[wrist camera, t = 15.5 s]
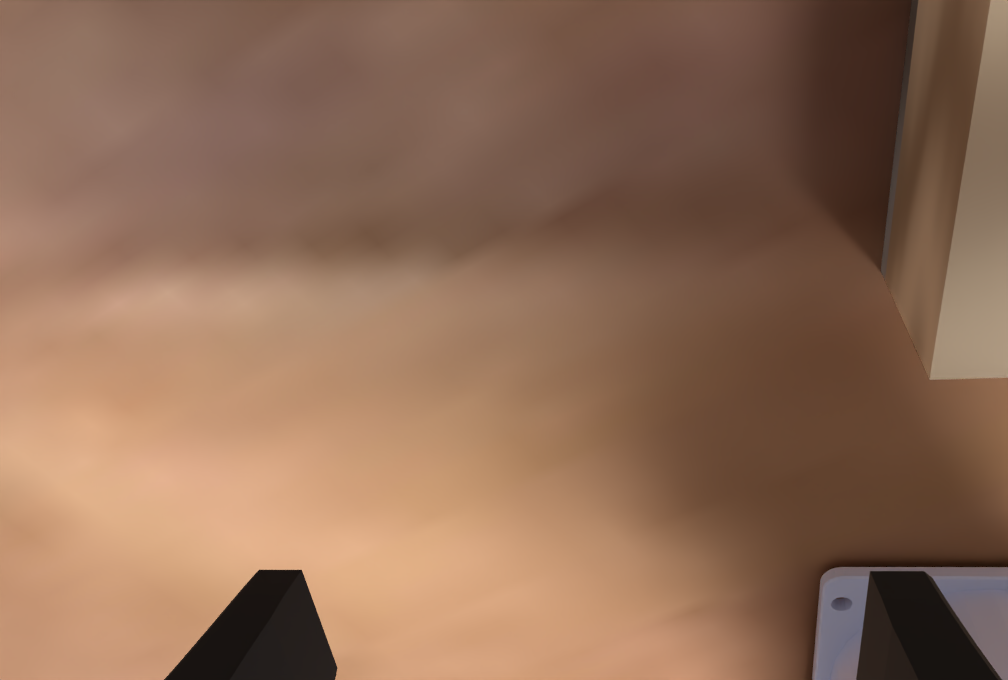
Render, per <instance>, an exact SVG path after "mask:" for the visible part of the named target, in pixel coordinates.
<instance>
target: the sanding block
mask: <svg viewBox="0 0 1008 680" xmlns="http://www.w3.org/2000/svg"><path fill="white" fill-rule="evenodd" d="M881 273H882V275H883V277H884V280H885V282H886V284H887V286H888V288H889V291H890V293H891V295H892V297H893V300H894V302H895V304H896V306H897V309H898V311H899V313H900V315H901V318H902V320H903V322H904V324H905V326H906V329H907V331H908V333H909V335H910V338H911V340H912V342H913V344H914V347H915V349H916V351H917V353H918V356H919V358H920V360H921V362H922V364H923V367H924V369H925V371H926V373H927V376H928V378H929V380H944V379H979V378H1008V0H912V2H911V11H910V20H909V29H908V37H907V46H906V55H905V63H904V72H903V81H902V90H901V98H900V107H899V116H898V124H897V133H896V142H895V151H894V159H893V168H892V177H891V186H890V194H889V203H888V212H887V220H886V229H885V238H884V247H883V255H882V264H881Z"/></svg>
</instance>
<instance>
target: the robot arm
mask: <svg viewBox="0 0 1008 680" xmlns="http://www.w3.org/2000/svg"><path fill="white" fill-rule="evenodd" d="M841 597H844V598H842V599H836V598H841ZM336 672H337V666H336V663H335V660H334V657H333V655H332V652H331V649H330V646H329V644H328V641H327V638H326V636H325V633H324V630H323V627H322V625H321V622H320V619H319V616H318V614H317V611H316V608H315V605H314V603H313V600H312V597H311V594H310V592H309V589H308V586H307V583H306V581H305V578H304V575H303V572H302V570H259V571H258V572H257V573H256V574H255V575H254V576H253V577H252V578H251V579H250V581H249V582H248V583H247V584H246V585H245V586H244V587H243V589H242V590H241V591H240V592H239V593H238V594H237V596H236V597H235V598H234V599H233V600H232V601H231V603H230V604H229V605H228V606H227V607H226V609H225V610H224V611H223V612H222V613H221V614H220V616H219V617H218V618H217V619H216V620H215V622H214V623H213V624H212V625H211V626H210V627H209V629H208V630H207V631H206V632H205V633H204V634H203V636H202V637H201V638H200V639H199V640H198V641H197V643H196V644H195V645H194V646H193V647H192V648H191V650H190V651H189V652H188V653H187V654H186V655H185V657H184V658H183V659H182V660H181V661H180V662H179V664H178V665H177V666H176V667H175V668H174V669H173V670H172V671H171V673H170V674H169V675H168V676H167V677H166V678H165V679H164V680H335V677H336ZM812 680H1008V567H837V568H833V569H830V570H828V571H827V572H826V573H824V574H823V575H822V578H821V580H820V591H819V603H818V615H817V626H816V638H815V650H814V662H813V674H812Z"/></svg>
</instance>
